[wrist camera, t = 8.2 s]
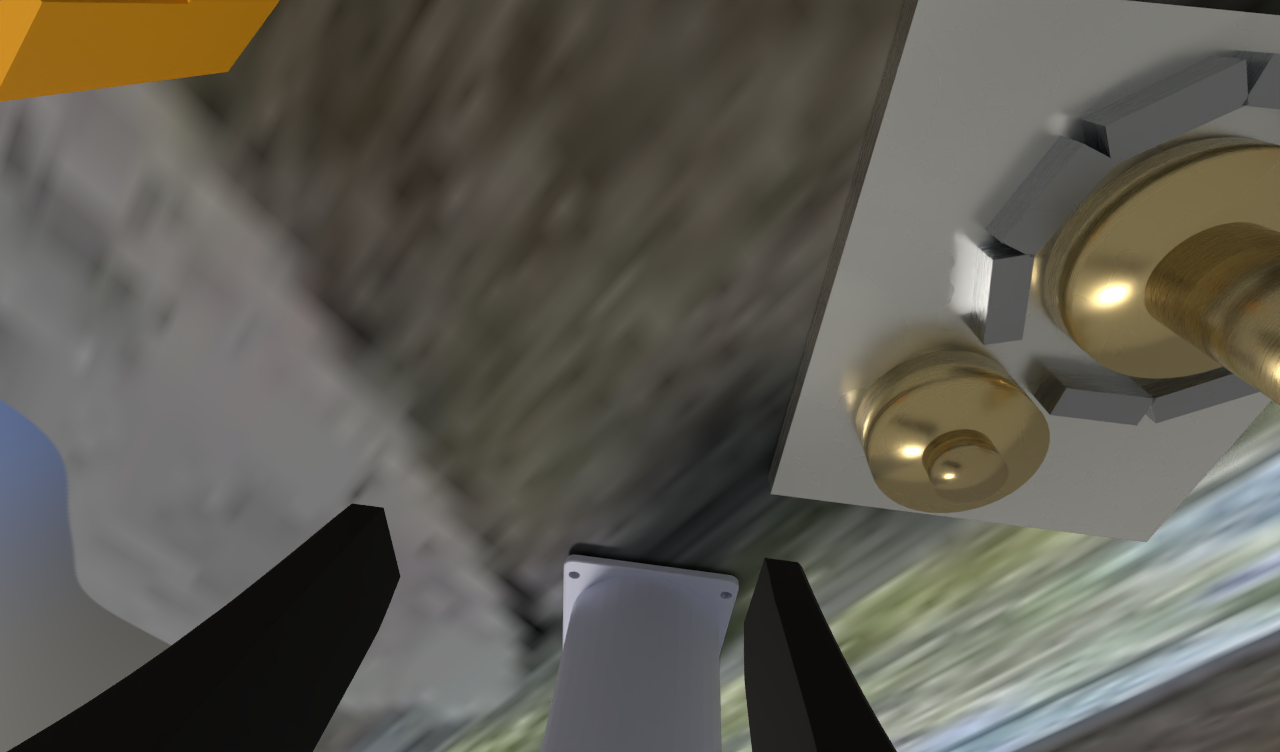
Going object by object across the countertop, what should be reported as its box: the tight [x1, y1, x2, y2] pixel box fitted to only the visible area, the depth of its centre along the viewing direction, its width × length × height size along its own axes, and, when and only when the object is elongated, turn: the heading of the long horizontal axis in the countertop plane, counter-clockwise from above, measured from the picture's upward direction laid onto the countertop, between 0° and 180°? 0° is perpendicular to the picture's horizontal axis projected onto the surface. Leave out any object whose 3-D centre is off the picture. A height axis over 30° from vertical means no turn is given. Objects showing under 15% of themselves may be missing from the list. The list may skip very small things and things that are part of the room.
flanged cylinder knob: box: [1044, 137, 1280, 405], centre depth 13 cm, size 6×6×6 cm
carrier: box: [768, 0, 1280, 542], centre depth 16 cm, size 16×14×4 cm
